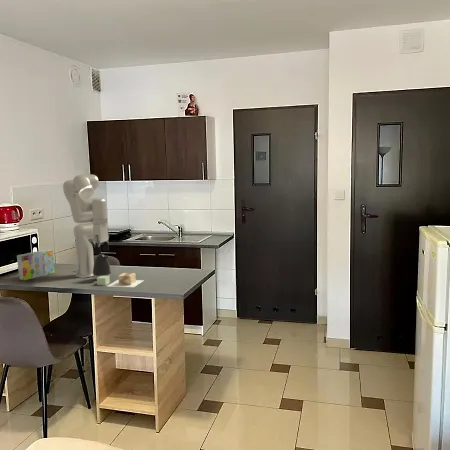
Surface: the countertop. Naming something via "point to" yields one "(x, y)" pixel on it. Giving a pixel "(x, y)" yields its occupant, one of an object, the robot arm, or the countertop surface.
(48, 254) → the snack box
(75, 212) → the robot arm
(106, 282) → the sage cube
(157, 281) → the countertop surface
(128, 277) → the oak block
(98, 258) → the pump dispenser
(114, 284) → the building board
